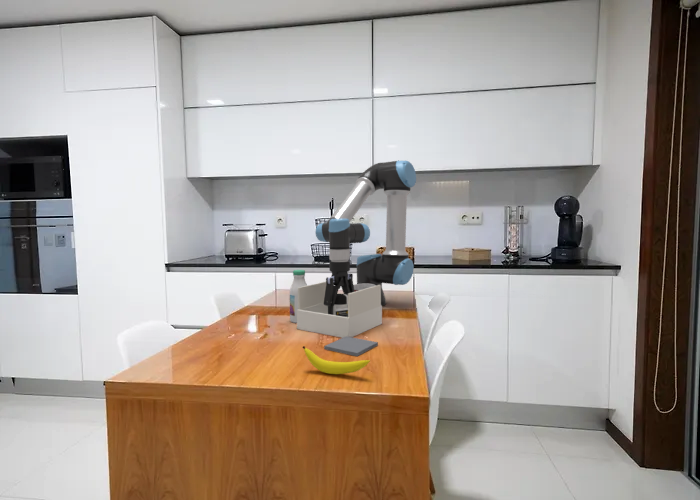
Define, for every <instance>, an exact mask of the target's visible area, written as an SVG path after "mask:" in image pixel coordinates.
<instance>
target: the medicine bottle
mask: <svg viewBox="0 0 700 500" xmlns="http://www.w3.org/2000/svg"><path fill="white" fill-rule="evenodd" d="M334 306H336V316H342V317H348V295H346V294H344V293H337V297H336V300H335V304H334Z"/></svg>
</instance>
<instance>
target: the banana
mask: <svg viewBox="0 0 700 500" xmlns="http://www.w3.org/2000/svg"><path fill="white" fill-rule="evenodd" d="M302 349H303V350H304V353H305V355H306V357H307V359H308V361H309V363H310V364H311V365H312V366H313V367H314V369H317V370H318V371H320V372H322V373H325V374H328V375H344V374H350V373H355V372H358V371H360V370H361V369H364V367H366V366H367V365H368V364H369V363H370V362H371V360H369V359H368V360H367V359H365V360H364V359H363V360H356V361H355V360H354V361H333V360H331V361H330V360H326V359H324V358H321V357H319V356H318V354H315V353H314V352H313V351H312V350H310V349H309V348H306V346H305V345H303V346H302Z"/></svg>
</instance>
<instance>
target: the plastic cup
mask: <svg viewBox="0 0 700 500" xmlns="http://www.w3.org/2000/svg"><path fill="white" fill-rule="evenodd" d="M353 286H354V292H356V291H359V290H363V289H366V288H370V287H373V286H376V285H374V284H366V283H363V284H357V283H355V284H353Z"/></svg>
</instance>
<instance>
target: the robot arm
mask: <svg viewBox="0 0 700 500" xmlns="http://www.w3.org/2000/svg"><path fill="white" fill-rule="evenodd" d="M416 183H417V173H416V170H415V168H414V165H413V164H412V163H411V162H410V160H394V161H386V162H378V163H374V164H373V165H371V166H370V167H368V168H367V169H365V170H364V171H363V172H362V173H361V174H360V175H359V176H358V177H357V179H356V180H355V185H354V186H353V188H352V189H351V190H350V192H349V193H348V194H347V195H346V197H345V198H344V199H343V201H342V202H341V203H340V205H339V206H338V207H337V209H335V211H334V212H333V214H332V215H331V217H330V218H328V220H327V222H322V223H319V224H318V225H317V226H316V228H315V231H314V232H315V237H316V239H317V240H318V241H320V242H323V243H329V244H328V245H329V247H328V248H329V249H328V251H329V256H328V258H329V262H328V263H329V267H328V268H329V271H330V272H331V277H330V276H329V277H326V278H325V282H326V290H325V297H324V305H325V306H328V314H330V315H336V306H334V304H335V300H336V297H337V294H339V290H340V289H341V290H342V292H343V293H342V294H346V295H348V294H349V293H352V292H354V286H353V285H354V280H353V279H354V277H353V276H354V274H353V273H351V272H350V273H349V271H351V262H350V261H349V260H351V249H350V246H351V245H350V244H361V243H365V242H366V241H368V240H369V239H370V237H371V230H370V228H369V226H368V225H367V224H365V223H362V222H358V223H354V222H353V223H352V222H351V221H352V220H353V219H354V217H355V216H356V214H357V212H358V211H360V209H361V207H362V206H363V205H364V203H365V202H366V201H367V199H368V197H369V196H372V195H373V194H375V192H376V191H378V190H383V193H384V194H385V195H386V220H385V221H386V227H385V231H386V232H385V250H384V251H383V252H381V253H373V254H364V255H359V256H358V257H357V258H356V265H355V266H356V284H363V283H366V284H374V285H376V286H377V285H381V305H382V307H383V306H385V305H386V304H387V303H386V302H387V300H386V296H385V292H384V290H383V284H387V285H388V284H389V285H390V284H391V285H395V286H401V285H406V284H408V283H409V282H410V281H411V279H412V277H413V274H414V267H415V265H414V263H413V260H412V259H411V258H409V257H410V255H409V253H408V252H407V251H406V243H407V242H406V239H407V238H406V237H407V235H406V234H407V232H406V231H407V204H408V203H407V200H408V199H407V198H408V195H409V194H410V193H411V188H413V187H414V186H415V185H416ZM350 222H351V223H350ZM331 302H332V303H331Z"/></svg>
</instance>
